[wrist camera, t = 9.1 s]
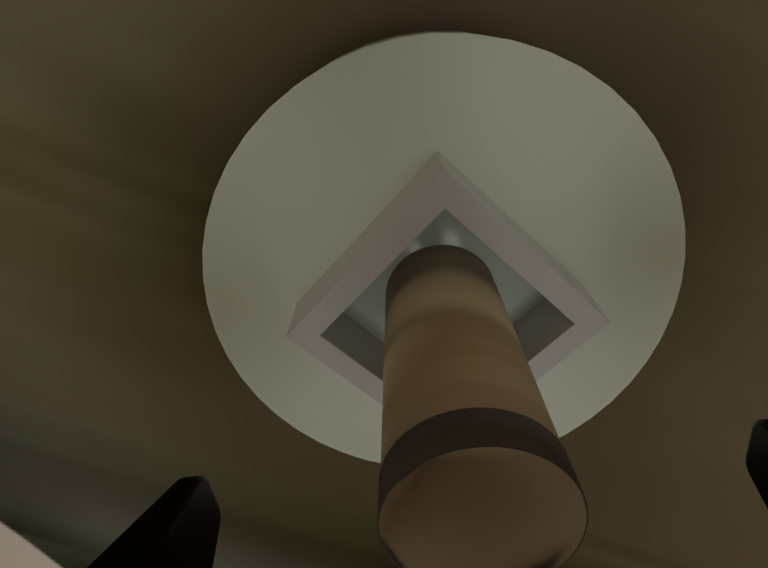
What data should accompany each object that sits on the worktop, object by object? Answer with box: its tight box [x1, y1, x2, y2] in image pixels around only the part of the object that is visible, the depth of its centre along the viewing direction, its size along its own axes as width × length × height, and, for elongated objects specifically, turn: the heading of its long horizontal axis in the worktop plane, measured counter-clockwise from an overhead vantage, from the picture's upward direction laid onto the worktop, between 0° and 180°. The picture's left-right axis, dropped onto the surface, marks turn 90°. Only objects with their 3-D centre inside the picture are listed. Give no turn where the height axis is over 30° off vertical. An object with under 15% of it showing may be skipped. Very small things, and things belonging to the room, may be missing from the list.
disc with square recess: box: [202, 31, 685, 463], centre depth 15 cm, size 13×13×6 cm
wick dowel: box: [378, 245, 588, 568], centre depth 11 cm, size 3×3×8 cm
